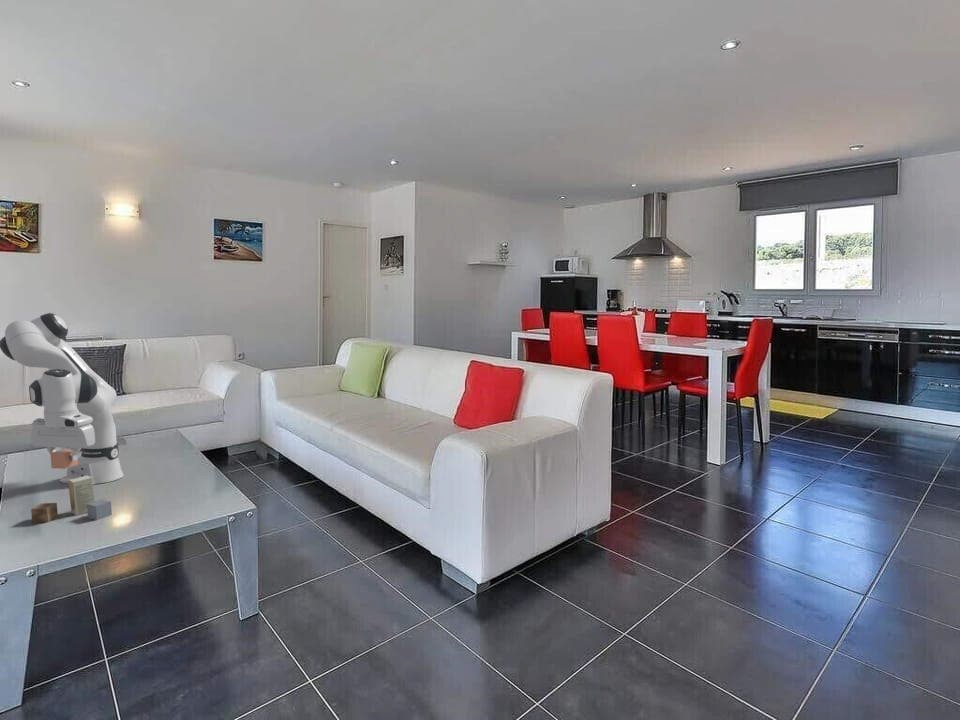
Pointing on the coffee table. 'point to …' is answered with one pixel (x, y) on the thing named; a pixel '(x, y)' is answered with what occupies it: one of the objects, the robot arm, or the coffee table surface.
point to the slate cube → (99, 509)
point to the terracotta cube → (62, 459)
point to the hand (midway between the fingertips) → (64, 459)
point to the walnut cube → (44, 512)
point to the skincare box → (81, 494)
